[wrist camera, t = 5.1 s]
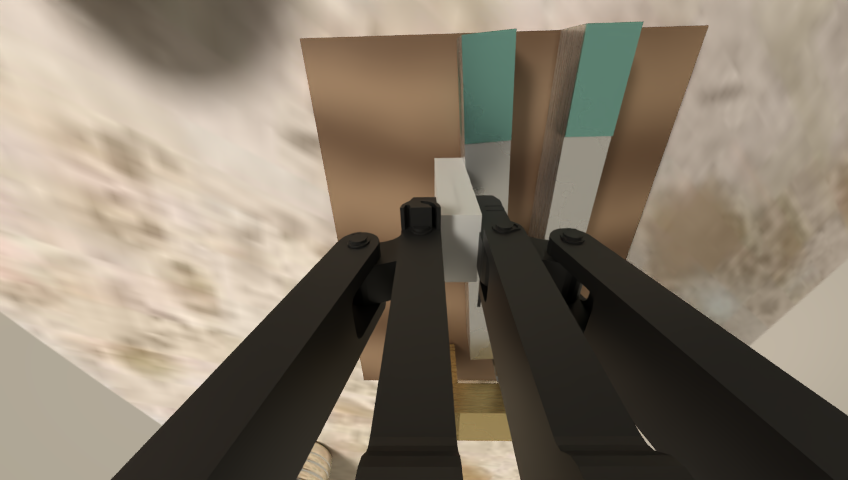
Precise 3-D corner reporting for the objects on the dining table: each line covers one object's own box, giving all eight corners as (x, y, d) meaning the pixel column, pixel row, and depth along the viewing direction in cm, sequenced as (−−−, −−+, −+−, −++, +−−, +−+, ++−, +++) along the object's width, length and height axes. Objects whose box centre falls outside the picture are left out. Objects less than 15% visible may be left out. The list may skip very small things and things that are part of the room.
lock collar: (443, 344, 23) (446, 413, 19) (562, 343, 23) (594, 413, 19) (443, 370, 25) (446, 440, 20) (554, 370, 25) (583, 441, 20)
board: (311, 40, 15) (299, 38, 14) (683, 28, 15) (708, 25, 14) (367, 363, 27) (364, 380, 26) (575, 363, 27) (582, 380, 25)
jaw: (456, 39, 14) (461, 34, 12) (502, 33, 14) (516, 28, 11) (466, 331, 23) (470, 360, 20) (494, 329, 23) (501, 359, 20)
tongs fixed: (525, 31, 14) (545, 24, 11) (605, 28, 14) (643, 21, 11) (488, 354, 24) (495, 387, 22) (534, 354, 24) (545, 387, 22)
